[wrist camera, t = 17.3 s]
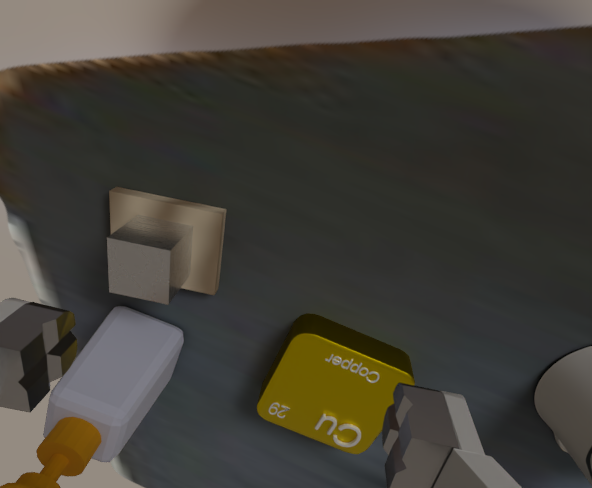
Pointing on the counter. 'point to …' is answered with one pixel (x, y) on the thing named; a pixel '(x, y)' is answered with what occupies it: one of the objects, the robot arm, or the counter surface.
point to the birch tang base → (200, 216)
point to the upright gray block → (149, 258)
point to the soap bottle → (105, 394)
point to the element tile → (332, 383)
